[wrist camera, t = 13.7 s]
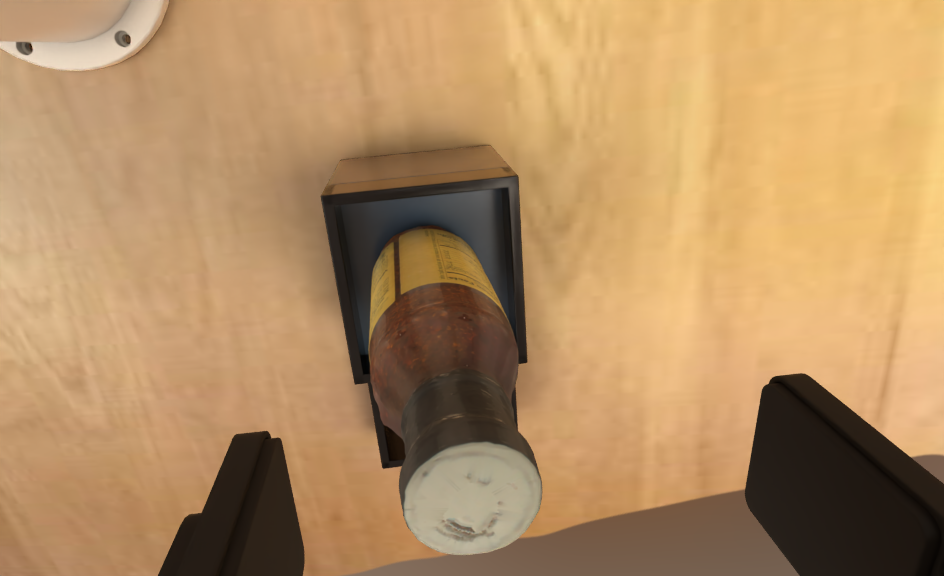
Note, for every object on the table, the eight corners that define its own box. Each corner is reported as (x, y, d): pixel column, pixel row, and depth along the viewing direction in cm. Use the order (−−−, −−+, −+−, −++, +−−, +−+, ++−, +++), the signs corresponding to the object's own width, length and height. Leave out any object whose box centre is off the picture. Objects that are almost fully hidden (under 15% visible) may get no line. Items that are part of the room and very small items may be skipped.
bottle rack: (384, 428, 48) (379, 524, 38) (340, 159, 40) (320, 195, 30) (508, 412, 49) (534, 502, 39) (490, 144, 40) (518, 175, 31)
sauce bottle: (411, 337, 36) (422, 631, 18) (351, 256, 34) (293, 500, 16) (502, 281, 35) (611, 530, 17) (447, 195, 33) (505, 376, 15)
